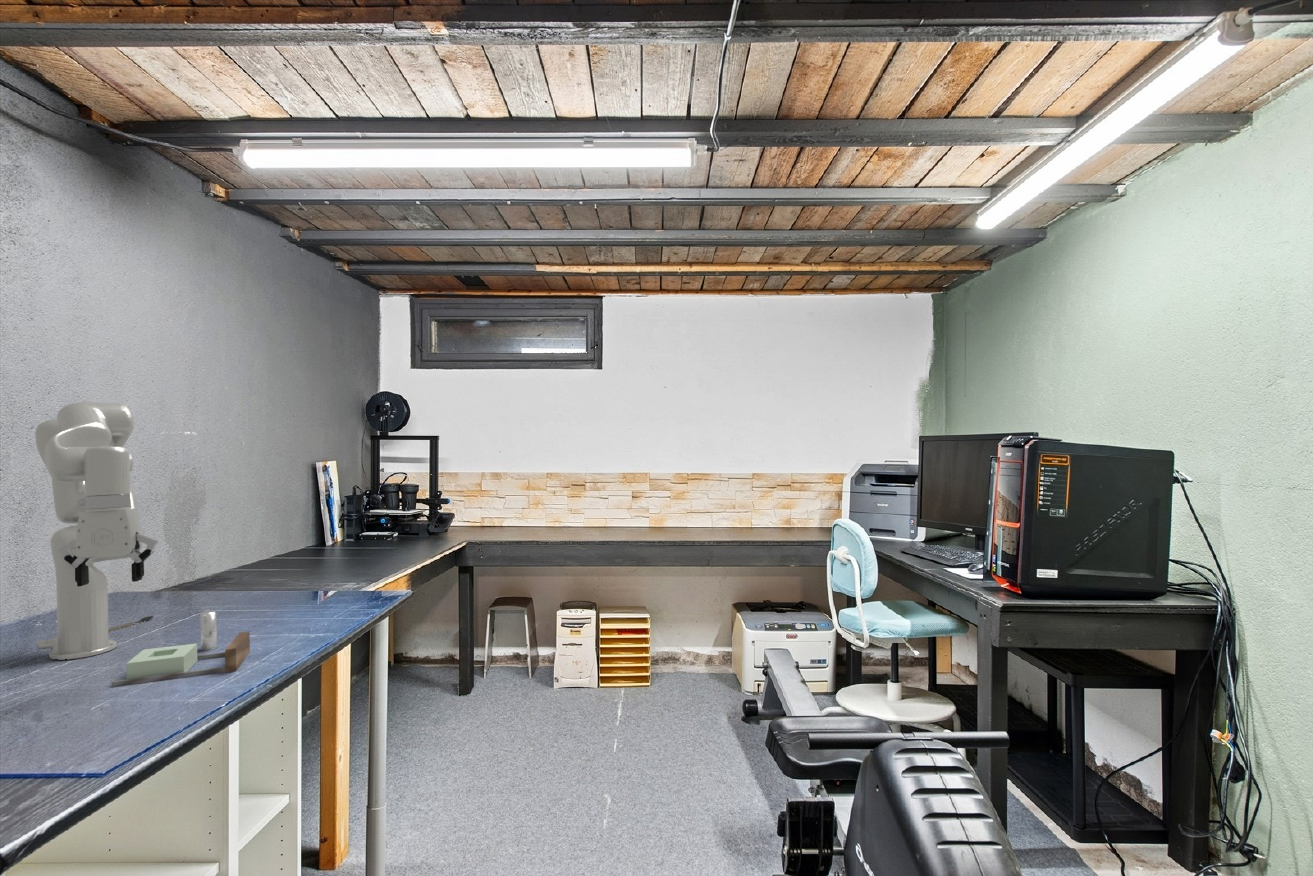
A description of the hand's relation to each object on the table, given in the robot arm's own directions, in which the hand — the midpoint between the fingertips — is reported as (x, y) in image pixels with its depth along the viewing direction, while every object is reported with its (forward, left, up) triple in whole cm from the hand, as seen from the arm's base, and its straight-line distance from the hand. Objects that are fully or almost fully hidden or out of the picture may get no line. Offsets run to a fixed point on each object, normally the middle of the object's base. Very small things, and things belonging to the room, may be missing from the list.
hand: (110, 582), depth 140 cm
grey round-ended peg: (+14, +14, -21) cm, 29 cm away
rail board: (+11, -1, -21) cm, 24 cm away
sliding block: (+9, -1, -20) cm, 22 cm away
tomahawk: (-15, +52, -22) cm, 58 cm away
